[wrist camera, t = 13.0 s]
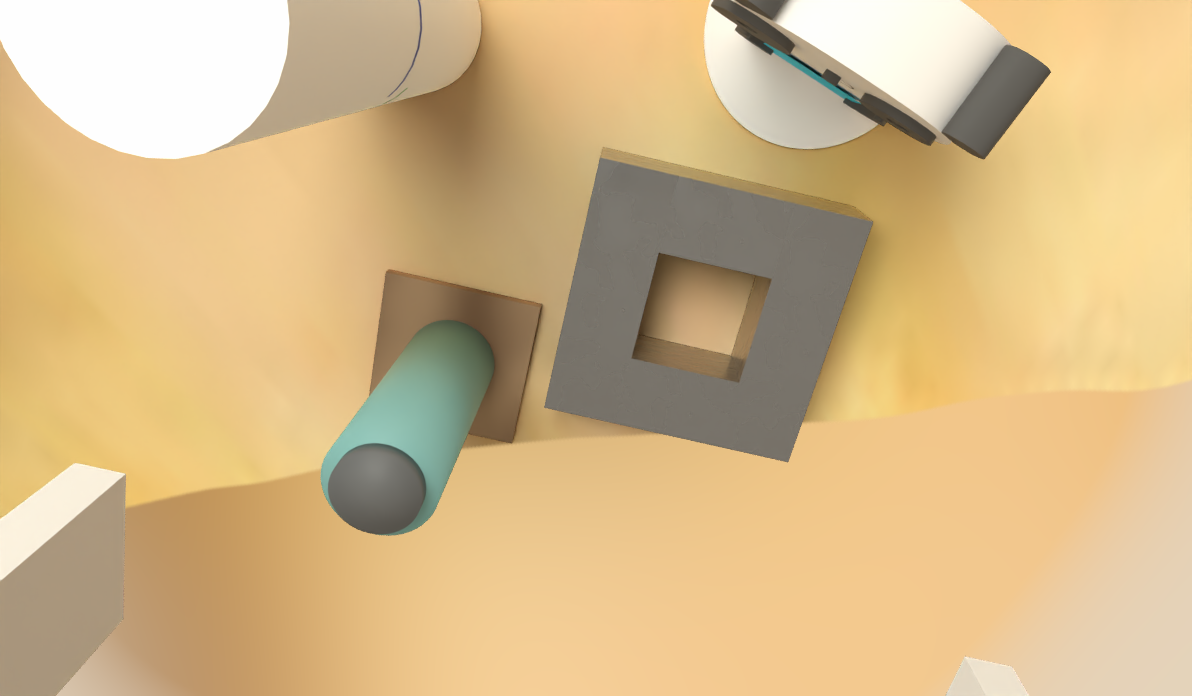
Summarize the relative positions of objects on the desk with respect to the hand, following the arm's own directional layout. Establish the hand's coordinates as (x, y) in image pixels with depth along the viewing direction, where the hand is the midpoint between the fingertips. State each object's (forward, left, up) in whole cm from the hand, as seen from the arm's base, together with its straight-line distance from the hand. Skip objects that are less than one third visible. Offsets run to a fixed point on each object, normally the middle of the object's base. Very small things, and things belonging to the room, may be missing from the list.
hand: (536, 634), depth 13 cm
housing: (+6, -4, -35) cm, 35 cm away
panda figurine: (+8, +11, -35) cm, 37 cm away
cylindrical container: (-12, +7, -35) cm, 38 cm away
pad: (-7, -11, -35) cm, 37 cm away
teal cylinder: (-7, -11, -34) cm, 37 cm away
